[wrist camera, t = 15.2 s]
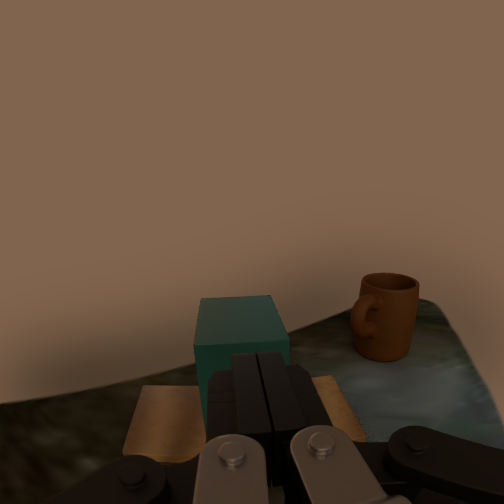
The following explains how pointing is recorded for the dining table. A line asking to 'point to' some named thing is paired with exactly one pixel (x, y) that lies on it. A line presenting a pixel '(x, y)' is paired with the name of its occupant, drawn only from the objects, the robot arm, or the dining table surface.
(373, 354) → the mug
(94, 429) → the dining table surface
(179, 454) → the cork mat
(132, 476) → the robot arm
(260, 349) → the carton
